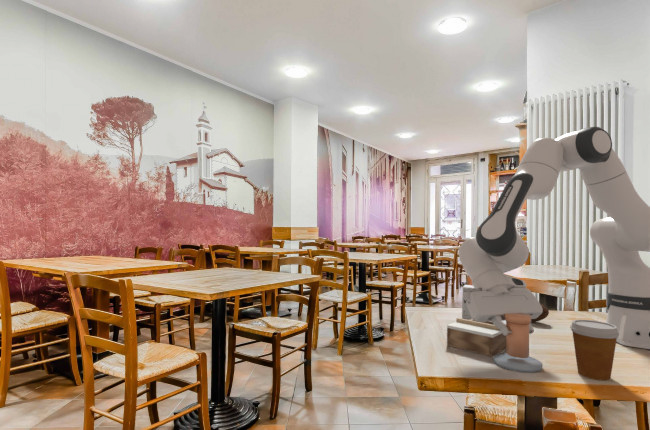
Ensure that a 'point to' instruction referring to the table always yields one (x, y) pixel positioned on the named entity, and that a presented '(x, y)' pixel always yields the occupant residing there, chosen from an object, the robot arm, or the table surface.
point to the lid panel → (475, 327)
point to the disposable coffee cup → (594, 348)
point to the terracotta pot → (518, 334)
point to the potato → (543, 315)
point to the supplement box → (465, 310)
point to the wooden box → (476, 341)
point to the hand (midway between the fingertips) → (519, 333)
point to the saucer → (518, 363)
